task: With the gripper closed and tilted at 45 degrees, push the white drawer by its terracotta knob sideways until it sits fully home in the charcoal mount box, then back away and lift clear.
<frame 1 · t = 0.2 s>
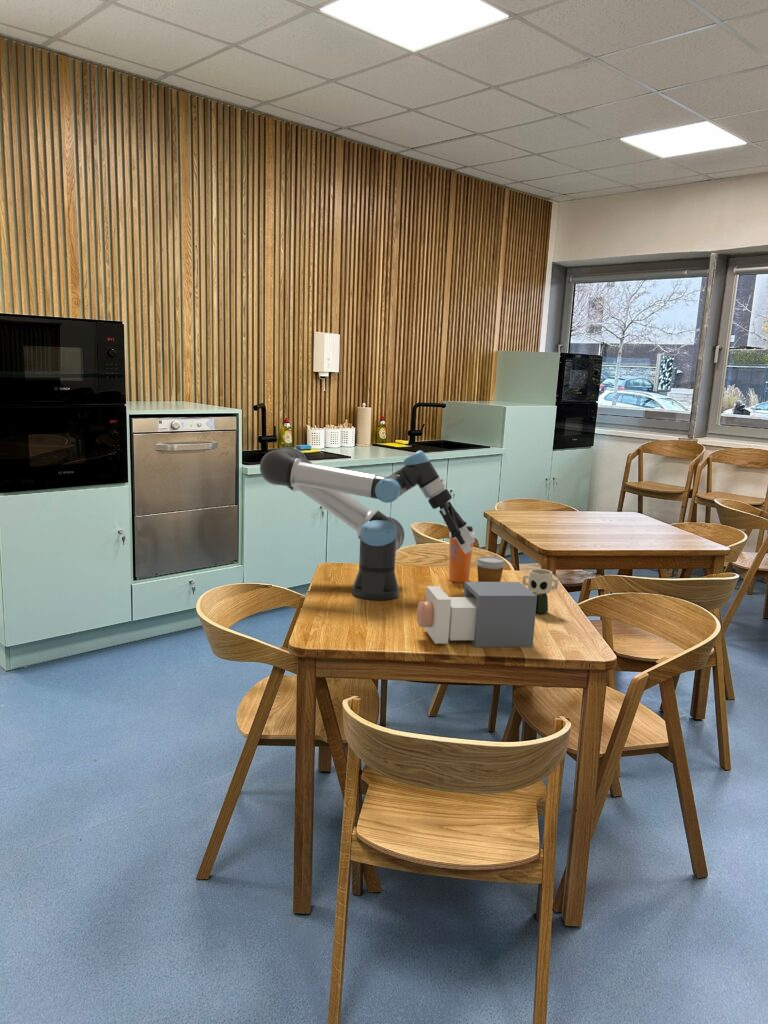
hand: (470, 547, 251), 15 cm above the table, tool tilted 35°, fingers open, 13 cm apart
white drawer: (457, 614, 205), point 7 cm above the table, slide at 7.0 cm
shaker bottle: (458, 580, 269), on the table
disposable coffee cup: (488, 594, 253), on the table
mount: (496, 638, 208), on the table
character mug: (537, 612, 235), on the table
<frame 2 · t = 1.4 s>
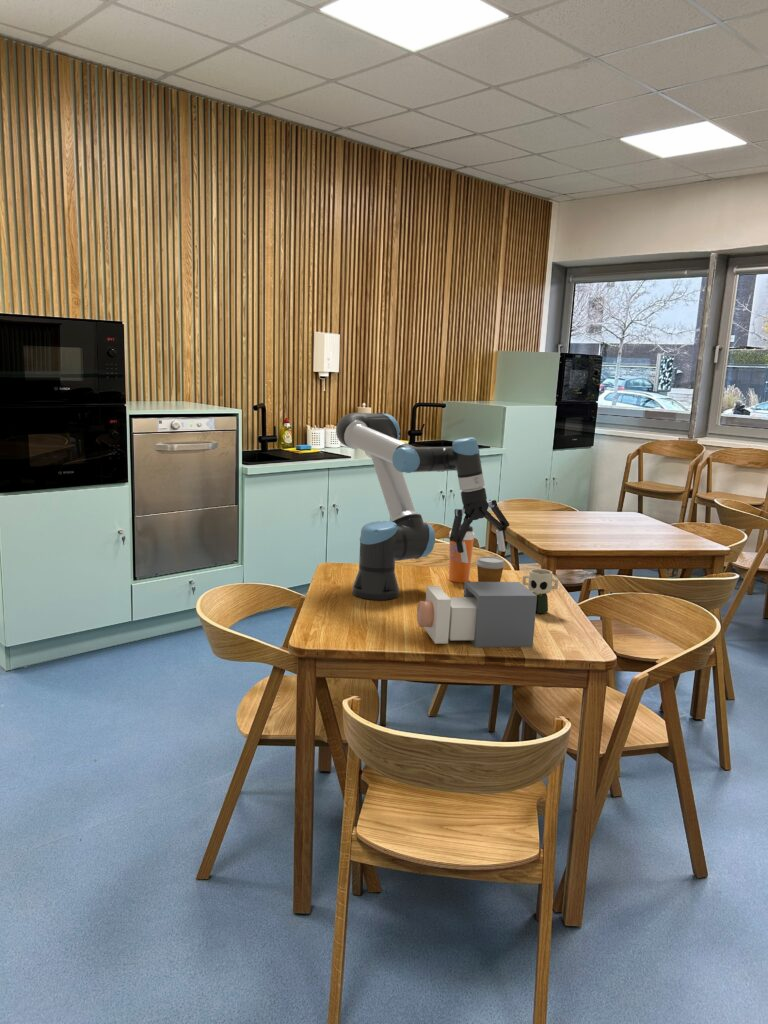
hand: (484, 556, 231), 17 cm above the table, tool pointing down, fingers open, 13 cm apart
nothing on the table moved.
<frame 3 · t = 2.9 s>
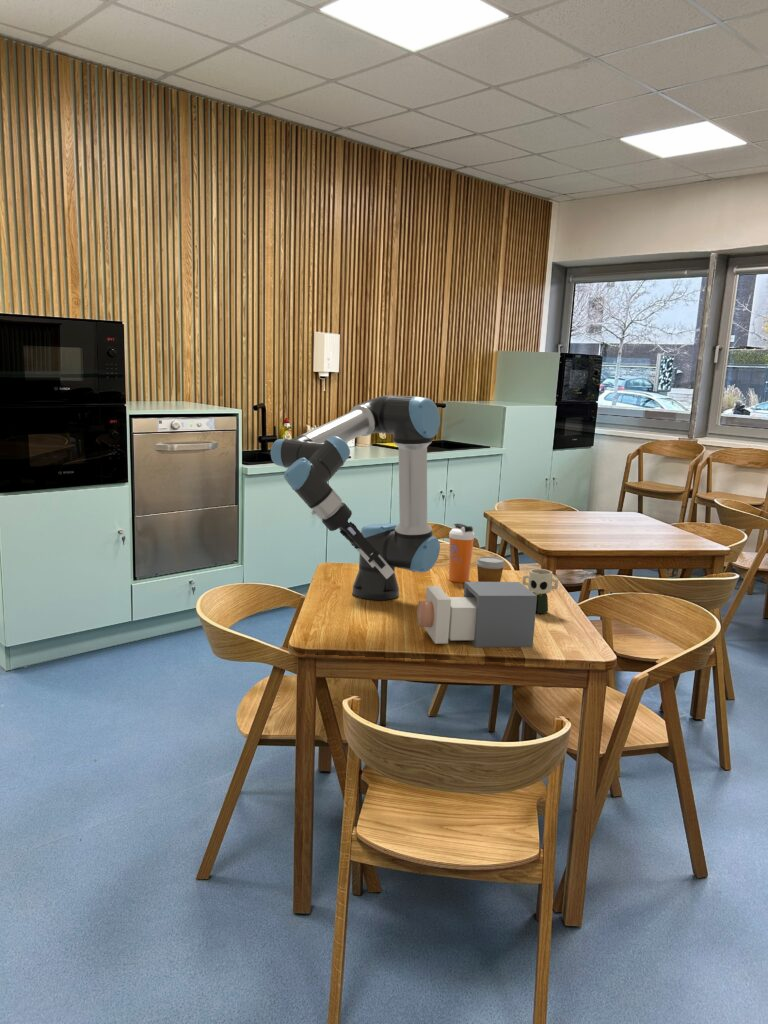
hand: (383, 569, 199), 19 cm above the table, tool tilted 40°, fingers open, 13 cm apart
nothing on the table moved.
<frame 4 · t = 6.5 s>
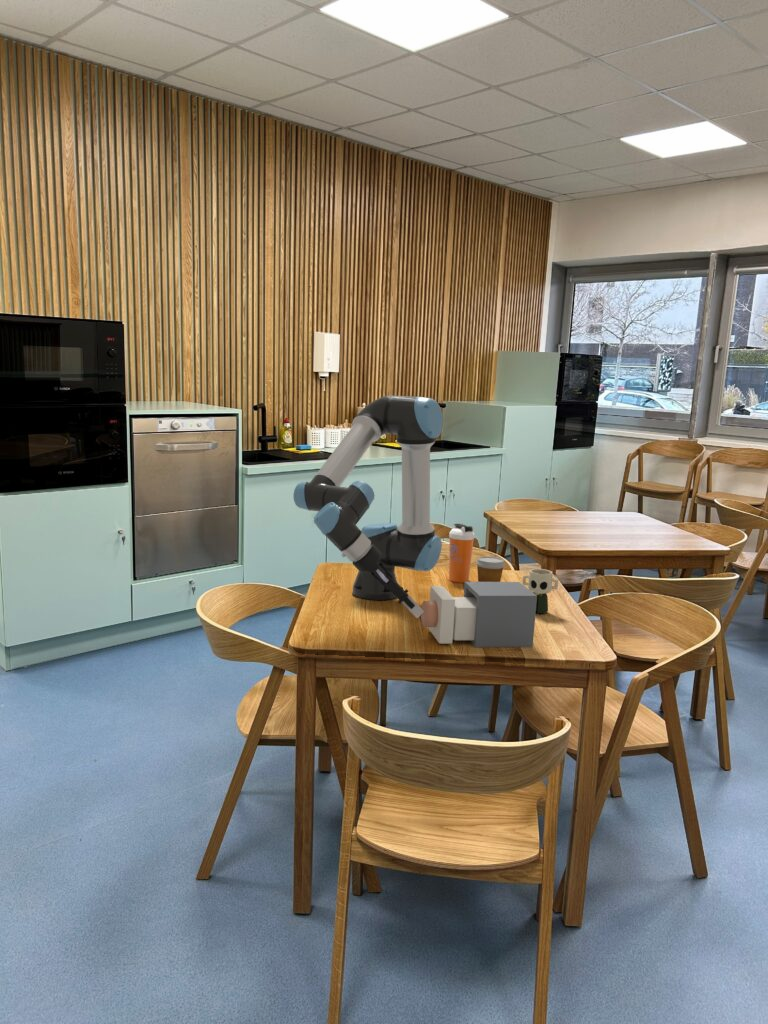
hand: (420, 614, 203), 7 cm above the table, tool tilted 45°, fingers closed
white drawer: (461, 614, 205), point 7 cm above the table, slide at 5.8 cm, touching gripper
everything else where it was.
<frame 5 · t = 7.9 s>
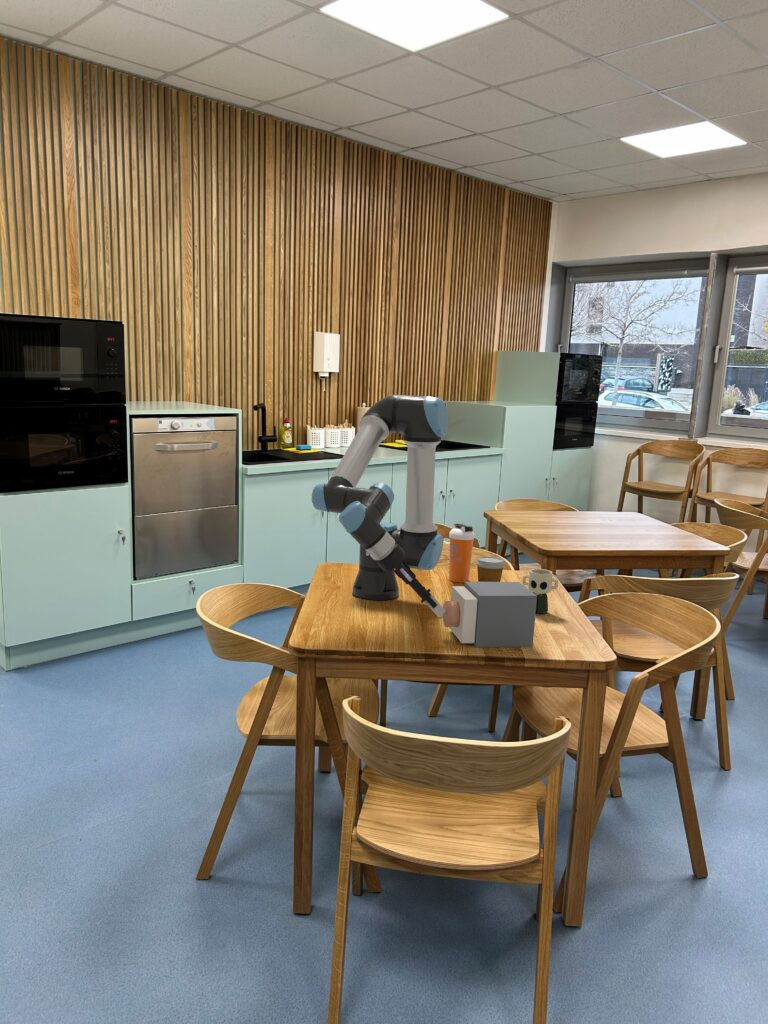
hand: (441, 613, 204), 7 cm above the table, tool tilted 45°, fingers closed
white drawer: (483, 613, 206), point 7 cm above the table, slide at -0.3 cm, touching gripper
everything else where it was.
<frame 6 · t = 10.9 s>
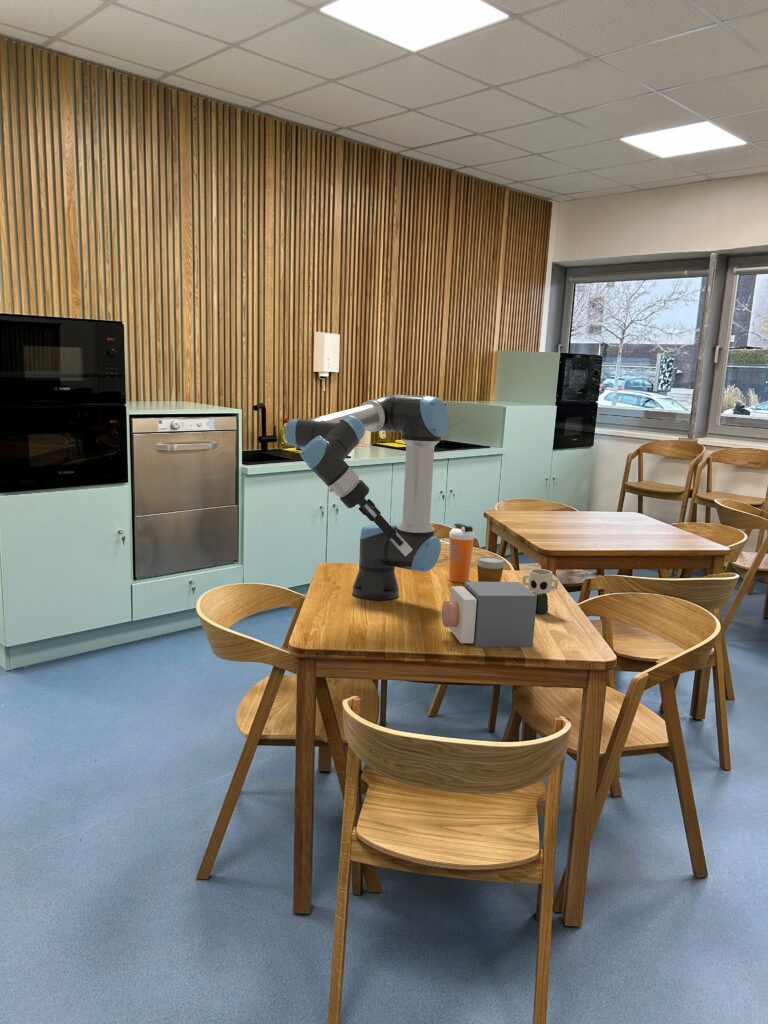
hand: (408, 552, 200), 24 cm above the table, tool tilted 45°, fingers closed
white drawer: (482, 613, 206), point 7 cm above the table, slide at 0.0 cm
everything else where it was.
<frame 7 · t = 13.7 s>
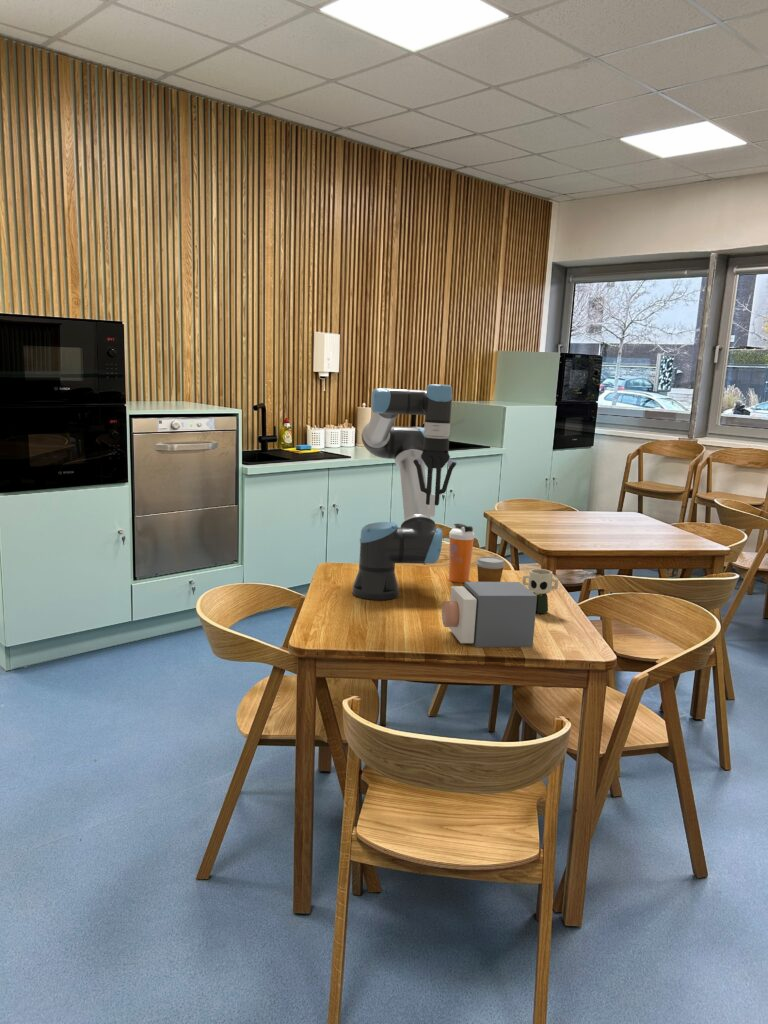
hand: (431, 515, 226), 29 cm above the table, tool pointing down, fingers closed
nothing on the table moved.
at the end: white drawer slide at 0.0 cm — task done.
